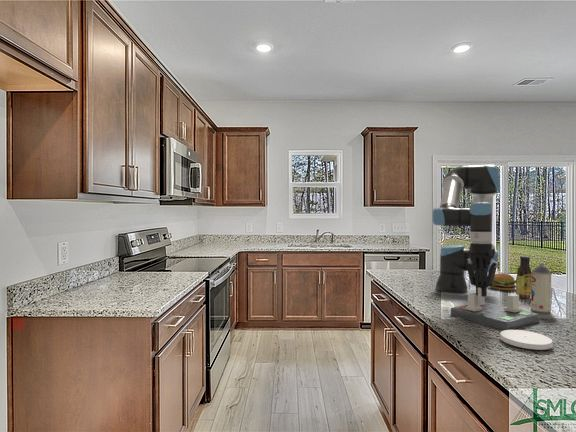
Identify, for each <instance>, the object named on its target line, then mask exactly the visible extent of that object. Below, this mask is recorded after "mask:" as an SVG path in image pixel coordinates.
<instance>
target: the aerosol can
mask: <svg viewBox="0 0 576 432" xmlns="http://www.w3.org/2000/svg"><path fill="white" fill-rule="evenodd" d="M531 272H532V283H531V297H530V312H533V313H537V314H545V315H546V314H551V303H552V302H551V301H552V272H551V271H550V270H549V268H547V267H546V266H545V263H541V262H540V263H539V265H538V266H536V267H534V269H531Z"/></svg>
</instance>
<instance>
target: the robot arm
mask: <svg viewBox="0 0 576 432" xmlns="http://www.w3.org/2000/svg"><path fill="white" fill-rule="evenodd" d="M500 182H501V181H500V173H499V167H498V166H497V165H495V164H478V165H477V164H475V165H472V164H471V165H460V166H456V167H455V168H453V169H452V170H450V171H448V173H447V174H446V175H445V176H444V177H443V180H442V188H443V190H442V195H441V199H440V203H439V207H434V208H433V209H432V223H433V225H435V226H441V227H447V226H448V227H449V226H450V227H469V228H470V229H469V238H470V239H469V240H470V244H469V245H468V247H469V248H466V247H465V245H463V244H461V245H457V244H455V245H448V246H442V247H441V248H440V254H439V257H440V259H439V260H440V261H439V276H438V278H437V281H436V284H435V289H436V290H437V291H441V292H445V293H452V294H453V293H454V294H463V293H467V292H468V285H467V281H466V279H465V272H467V273H468V274H467V275H468V278H469V282H470V285H471V286H474V287H475V293H476V295H478V305H484V304H485V302H486V297H487V295H488V291H487V290H488V288H489V287H490V286H492V284H493V280H494V276H495V274H496V273H497V268H498V267H499V266H500V263H499V262H498V257H499V250H498V249H496V246H495V244H493V215H494V214H493V210H494V209H493V208H494V196H495V195H496V194H497V192H498V191H497V190H500V189H501V183H500ZM462 190H469V193H470V194H471V195H472V197H473V199H472V201H473V202H472V203H470V205H469V207H464V208H463V207H459V206H460V197H461V191H462ZM490 288H491V287H490Z"/></svg>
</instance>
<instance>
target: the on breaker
mask: <svg viewBox="0 0 576 432" xmlns="http://www.w3.org/2000/svg"><path fill="white" fill-rule="evenodd" d="M504 310H506V311H510V312H514V313H515V312H519V311H521V310H522V308H521V307H520V298H519V295H517V294H516V293H511V294H507V295H506V307H504Z"/></svg>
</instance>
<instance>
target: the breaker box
mask: <svg viewBox="0 0 576 432" xmlns="http://www.w3.org/2000/svg"><path fill="white" fill-rule="evenodd" d="M465 306H468V304H464V305H459V306H455V307H451V308H450V317H456V318H458V319H462V320H466V321H469V322H473V323H476V324H480V325H484V326H488V327H492V328H495V329H499V330H501V331H504V330H516V329H518V328H522V327H526V326H528V325H531V324H535V323H539V319H540V317H539V315H540V313H536V312H533V311H528V310H523V309H521V311H519V312H515V313H514V312H510V311H506V310H504V307H507V305H506V306H505V305H500V304H496V303H491V302H486V301H485V304H484V305H480V307H483V310H479V311H471V310H467V309H465Z"/></svg>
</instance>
